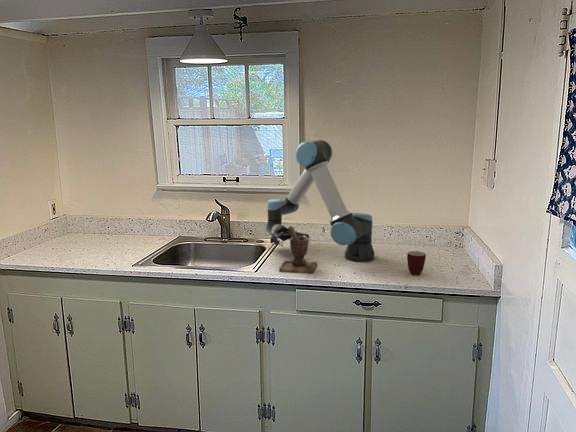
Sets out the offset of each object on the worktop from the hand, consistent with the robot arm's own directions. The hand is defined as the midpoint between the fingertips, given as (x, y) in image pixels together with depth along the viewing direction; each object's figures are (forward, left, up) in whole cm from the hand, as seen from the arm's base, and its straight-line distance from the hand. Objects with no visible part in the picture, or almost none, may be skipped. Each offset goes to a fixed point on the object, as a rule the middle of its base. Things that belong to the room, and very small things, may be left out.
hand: (295, 242), depth 229 cm
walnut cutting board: (-3, 0, -12) cm, 12 cm away
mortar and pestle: (-3, 0, -11) cm, 11 cm away
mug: (-29, -48, -12) cm, 57 cm away
